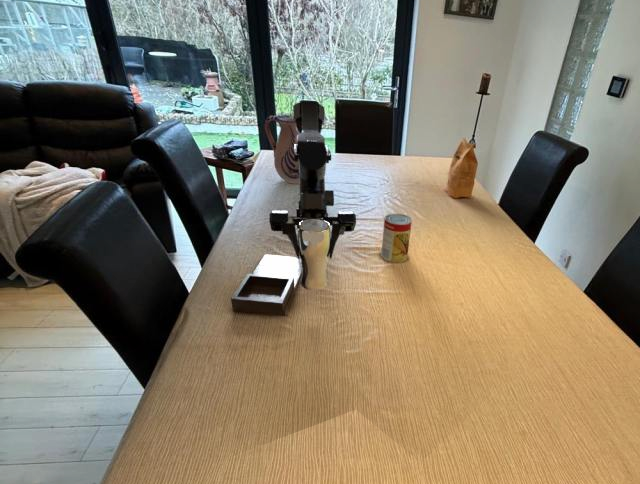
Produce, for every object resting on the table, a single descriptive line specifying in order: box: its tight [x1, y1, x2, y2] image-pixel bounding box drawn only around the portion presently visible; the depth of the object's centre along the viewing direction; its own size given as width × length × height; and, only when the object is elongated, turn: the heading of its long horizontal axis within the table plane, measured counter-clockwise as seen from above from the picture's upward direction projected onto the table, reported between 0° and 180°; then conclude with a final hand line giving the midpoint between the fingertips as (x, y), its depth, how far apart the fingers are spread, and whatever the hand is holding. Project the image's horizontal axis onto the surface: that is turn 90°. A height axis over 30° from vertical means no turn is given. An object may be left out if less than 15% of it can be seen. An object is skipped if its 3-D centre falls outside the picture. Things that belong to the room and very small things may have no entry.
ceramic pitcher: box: [264, 114, 299, 185], centre depth 169 cm, size 18×21×25 cm
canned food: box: [380, 213, 413, 263], centre depth 121 cm, size 8×8×12 cm
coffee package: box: [445, 137, 479, 199], centre depth 173 cm, size 10×12×22 cm
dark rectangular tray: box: [230, 254, 302, 316], centre depth 104 cm, size 27×12×4 cm, turn 178°
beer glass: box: [297, 218, 331, 292], centre depth 93 cm, size 7×7×15 cm
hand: (314, 258), depth 92 cm, fingers closed on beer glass, 7 cm apart
